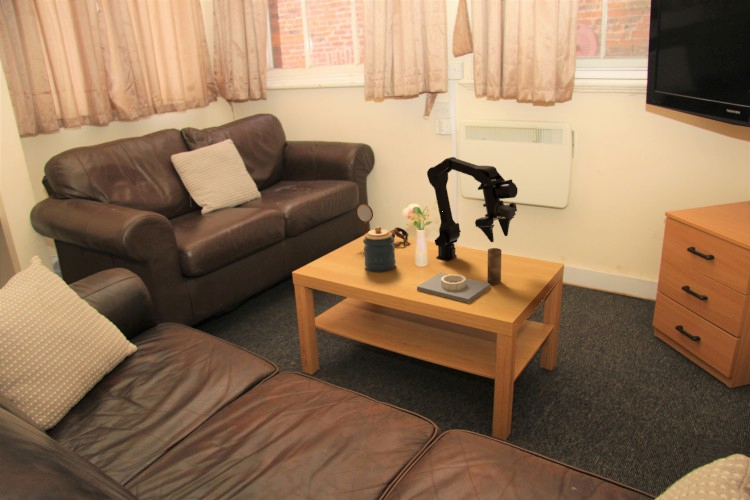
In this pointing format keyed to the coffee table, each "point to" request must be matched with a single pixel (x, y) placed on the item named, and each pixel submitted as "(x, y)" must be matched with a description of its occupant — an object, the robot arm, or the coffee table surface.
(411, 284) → the coffee table surface
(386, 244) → the canister
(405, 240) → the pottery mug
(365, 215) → the magnifying glass
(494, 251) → the walnut column
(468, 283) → the base board
